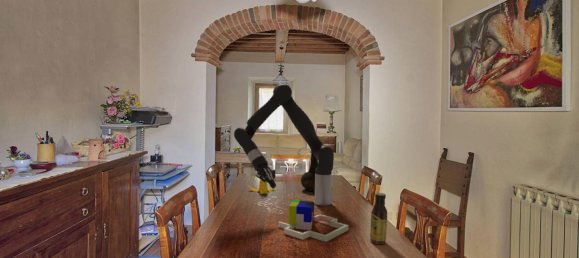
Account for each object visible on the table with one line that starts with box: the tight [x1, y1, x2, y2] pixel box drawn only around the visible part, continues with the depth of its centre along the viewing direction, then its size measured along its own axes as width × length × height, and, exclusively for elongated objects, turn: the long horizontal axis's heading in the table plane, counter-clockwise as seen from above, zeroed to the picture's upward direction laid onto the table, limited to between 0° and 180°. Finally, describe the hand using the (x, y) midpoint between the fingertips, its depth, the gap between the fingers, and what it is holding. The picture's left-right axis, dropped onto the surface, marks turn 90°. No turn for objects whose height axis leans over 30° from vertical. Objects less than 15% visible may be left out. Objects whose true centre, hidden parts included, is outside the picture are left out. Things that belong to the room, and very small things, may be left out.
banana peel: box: [247, 179, 276, 195], centre depth 210 cm, size 17×19×17 cm
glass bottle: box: [300, 151, 318, 192], centre depth 218 cm, size 18×18×28 cm
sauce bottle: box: [369, 192, 388, 245], centre depth 129 cm, size 6×6×20 cm
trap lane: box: [278, 213, 349, 243], centre depth 143 cm, size 25×27×2 cm
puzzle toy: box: [288, 199, 315, 231], centre depth 147 cm, size 10×10×10 cm
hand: (274, 187), depth 158 cm, fingers closed
